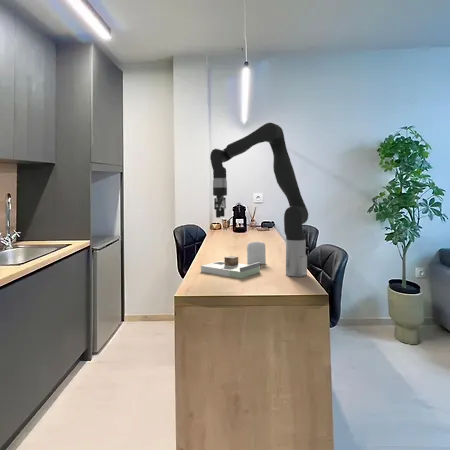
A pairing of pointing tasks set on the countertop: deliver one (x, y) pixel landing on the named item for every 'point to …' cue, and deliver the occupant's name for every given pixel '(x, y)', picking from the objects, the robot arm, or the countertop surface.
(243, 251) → the countertop surface
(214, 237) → the countertop surface
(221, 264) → the box
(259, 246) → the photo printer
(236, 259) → the walnut block
